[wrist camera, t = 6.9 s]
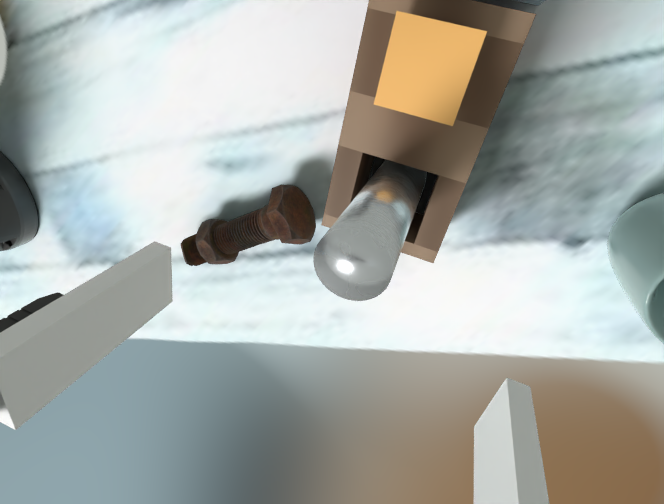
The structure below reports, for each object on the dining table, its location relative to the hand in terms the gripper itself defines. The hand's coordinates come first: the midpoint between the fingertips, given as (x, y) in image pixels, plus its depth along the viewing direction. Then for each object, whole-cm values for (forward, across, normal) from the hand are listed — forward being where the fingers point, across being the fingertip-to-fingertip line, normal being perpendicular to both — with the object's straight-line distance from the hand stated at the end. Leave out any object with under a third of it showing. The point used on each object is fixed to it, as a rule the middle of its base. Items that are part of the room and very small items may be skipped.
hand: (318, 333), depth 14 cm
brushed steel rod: (+21, 0, 0) cm, 21 cm away
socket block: (+21, 0, -4) cm, 22 cm away
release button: (+20, 0, -9) cm, 22 cm away
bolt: (+22, +14, +10) cm, 27 cm away
